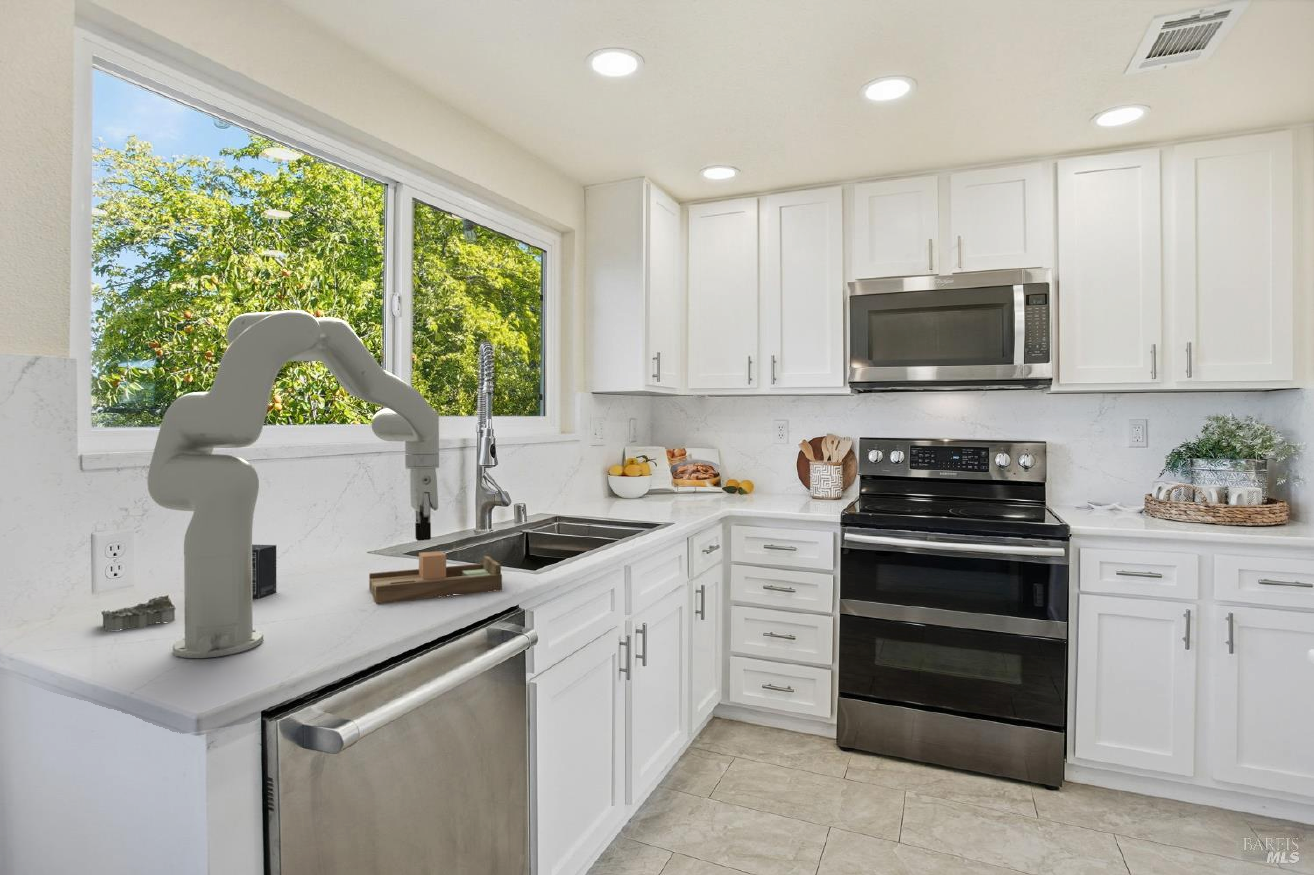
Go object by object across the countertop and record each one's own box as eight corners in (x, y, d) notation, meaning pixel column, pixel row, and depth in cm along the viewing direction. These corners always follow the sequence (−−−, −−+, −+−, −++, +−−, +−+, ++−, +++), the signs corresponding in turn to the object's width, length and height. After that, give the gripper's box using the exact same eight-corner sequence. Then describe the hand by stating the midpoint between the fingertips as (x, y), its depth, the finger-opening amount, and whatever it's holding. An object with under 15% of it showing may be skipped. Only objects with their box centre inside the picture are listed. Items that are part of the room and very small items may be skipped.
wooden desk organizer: (501, 590, 156) (501, 565, 156) (376, 603, 144) (376, 576, 144) (486, 577, 168) (486, 554, 168) (369, 588, 156) (369, 564, 156)
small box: (278, 591, 153) (278, 543, 153) (259, 599, 147) (258, 549, 146) (233, 590, 154) (233, 542, 154) (211, 597, 148) (211, 547, 147)
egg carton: (171, 615, 135) (171, 594, 135) (177, 624, 129) (177, 602, 129) (101, 625, 128) (101, 602, 128) (103, 634, 122) (103, 611, 122)
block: (446, 576, 158) (446, 554, 157) (422, 579, 155) (422, 556, 155) (441, 572, 162) (441, 551, 162) (418, 574, 160) (418, 552, 159)
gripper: (445, 463, 159) (445, 543, 160) (433, 459, 173) (433, 533, 173) (410, 464, 156) (411, 546, 157) (400, 460, 169) (401, 535, 170)
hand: (423, 539), depth 165 cm, fingers closed
